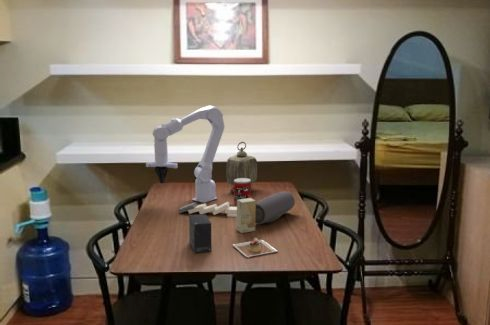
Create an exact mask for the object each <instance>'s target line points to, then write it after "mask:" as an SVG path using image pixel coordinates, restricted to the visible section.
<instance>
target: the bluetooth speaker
mask: <svg viewBox="0 0 490 325" xmlns="http://www.w3.org/2000/svg"><path fill="white" fill-rule="evenodd" d="M295 202H296V201H295V198H294V195H293V194H292V193H291V192H290V191H285V190H284V191H279V192H276V193H274V194H271V195H269V196H266V197H264V198H262V199H260V200H258V201H256V210H255V225H261V224H270V223H273V222H275V221H277V220H279V219H280V218H281V217H282V216H283V215H284V214H286V213H287V212H289V211H291V209H293V208H294V207H295V204H296V203H295Z"/></svg>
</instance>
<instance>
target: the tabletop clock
mask: <svg viewBox="0 0 490 325" xmlns="http://www.w3.org/2000/svg"><path fill="white" fill-rule="evenodd" d="M241 144H244V147H242V146H241V147H240V148H239V146H240V145H241ZM246 148H247V143H246V142H245V141H240V142H238V144H237V150H238V151H237V153H236V154H234V155H232V156H230V157H229V158H228V159H227V161H226V169H225V170H226V173H225V174H226V181H227V182H226V183H227V185H230V186H233V187H232V189H230V193H231V194H232V193H233V194H234V180H235V179H238V178H248V179H250V180H251V184H253V183H255V182H256V181H257V178H258V162H257V161H258V160H257V158H256V157H255V156H252V155H248V153H247V152H246V151H245V150H246Z"/></svg>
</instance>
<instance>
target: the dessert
mask: <svg viewBox="0 0 490 325" xmlns="http://www.w3.org/2000/svg"><path fill="white" fill-rule="evenodd" d="M260 243H261V244H262V245H264V246H265V247H266V248H268V249H269V250H270V251H269V252H268V251H267V252H264V253H259V254H253V255H247V254H246V253H245V252H244V251H242V250H241V249H240V248H239V247H244V246H248V251H249V252H254V253H257V252H261V251H262V248H261V244H260ZM232 246H233V247H234V248H235V249H236V250H238V252H240V253H241V255H243V256H245V258H253V257H256V256H257V257H258V256H262V255H267V254H272V253H273V254H274V253H277V252H278V250H277V249H276V248H275V247H273V246H272V245H271V244H269V243H268V242H267V241H266V240H264V239H258V238H257V237H254V238H253V240H250V241H245V242H239V243H233V244H232ZM238 246H239V247H238Z"/></svg>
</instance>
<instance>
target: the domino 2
mask: <svg viewBox="0 0 490 325" xmlns="http://www.w3.org/2000/svg"><path fill="white" fill-rule="evenodd" d="M207 206H208V205H207V202H205V203H201V204H197V206H196V207H195V208H193V209H191V210H188V211H187V212H188V215H192V214H193V213H197V212H199V211H201V210H204V209H205V208H206V207H207Z"/></svg>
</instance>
